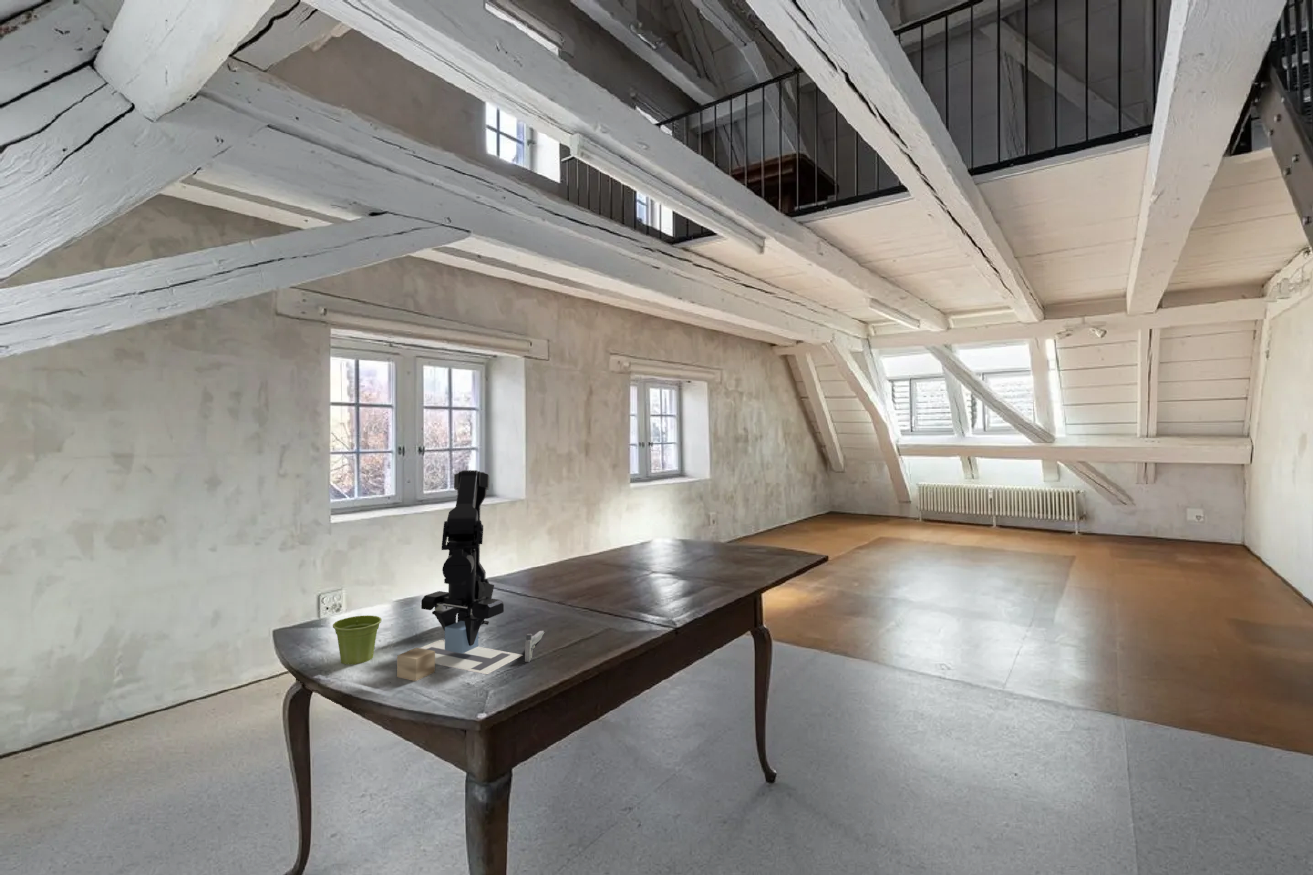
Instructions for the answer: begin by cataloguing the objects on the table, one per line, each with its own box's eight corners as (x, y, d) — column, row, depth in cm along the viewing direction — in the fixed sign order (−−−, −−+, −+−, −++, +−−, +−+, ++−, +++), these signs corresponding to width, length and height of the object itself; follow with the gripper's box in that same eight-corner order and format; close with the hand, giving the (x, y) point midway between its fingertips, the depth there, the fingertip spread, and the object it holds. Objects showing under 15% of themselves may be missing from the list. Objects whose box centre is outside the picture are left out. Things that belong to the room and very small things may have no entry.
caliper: (530, 665, 127) (530, 636, 127) (524, 665, 127) (525, 636, 127) (544, 634, 147) (544, 609, 147) (540, 634, 147) (540, 609, 147)
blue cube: (460, 642, 134) (460, 620, 134) (478, 646, 132) (478, 623, 132) (444, 650, 129) (444, 627, 129) (462, 653, 127) (462, 630, 127)
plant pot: (387, 662, 128) (388, 621, 128) (340, 673, 121) (340, 631, 121) (372, 651, 135) (372, 612, 135) (326, 661, 128) (326, 621, 128)
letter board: (440, 642, 141) (440, 639, 141) (523, 657, 131) (523, 654, 131) (399, 658, 130) (399, 656, 130) (486, 677, 120) (486, 674, 120)
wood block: (416, 671, 123) (416, 647, 123) (434, 675, 121) (435, 651, 121) (397, 680, 119) (397, 655, 119) (415, 684, 117) (416, 659, 117)
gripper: (519, 569, 134) (519, 638, 134) (455, 561, 142) (455, 627, 142) (486, 579, 124) (486, 654, 124) (419, 571, 132) (419, 641, 131)
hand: (461, 643), depth 130 cm, fingers closed on blue cube, 5 cm apart
